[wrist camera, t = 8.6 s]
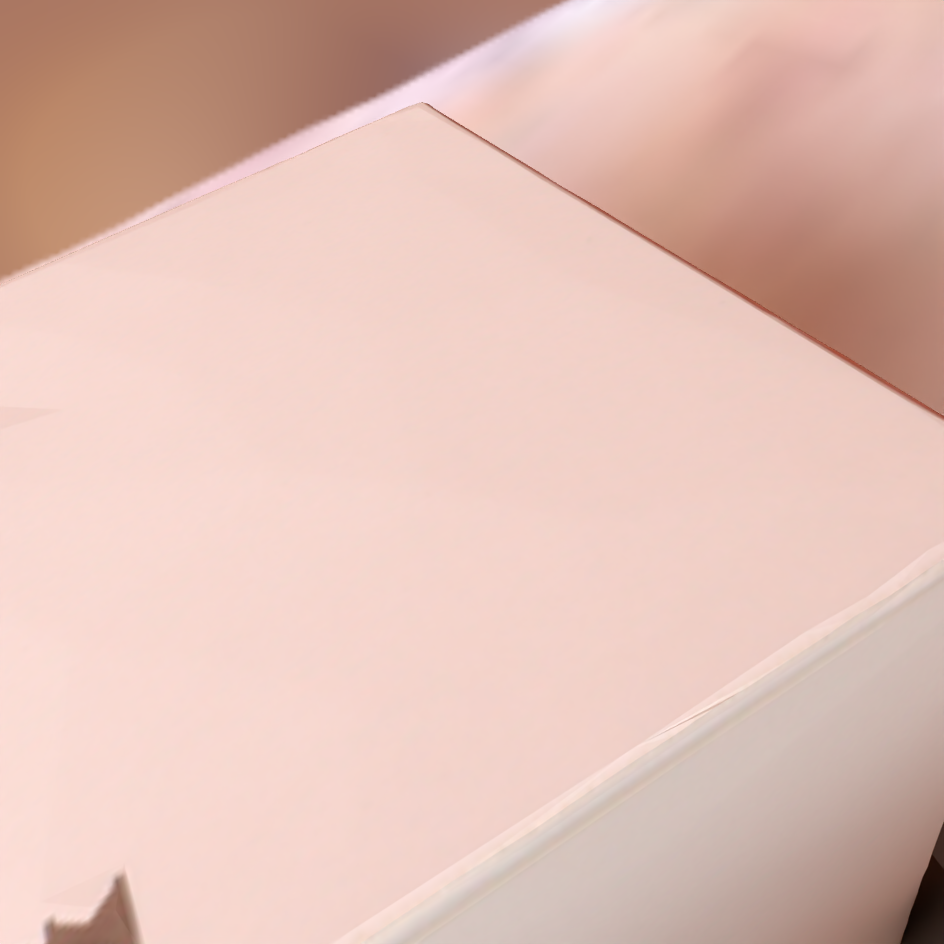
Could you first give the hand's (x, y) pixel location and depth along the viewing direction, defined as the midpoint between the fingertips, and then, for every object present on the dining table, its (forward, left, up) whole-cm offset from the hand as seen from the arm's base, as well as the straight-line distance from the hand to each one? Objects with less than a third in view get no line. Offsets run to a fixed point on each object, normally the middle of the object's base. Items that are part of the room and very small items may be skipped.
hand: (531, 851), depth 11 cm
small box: (0, +1, -6) cm, 6 cm away
